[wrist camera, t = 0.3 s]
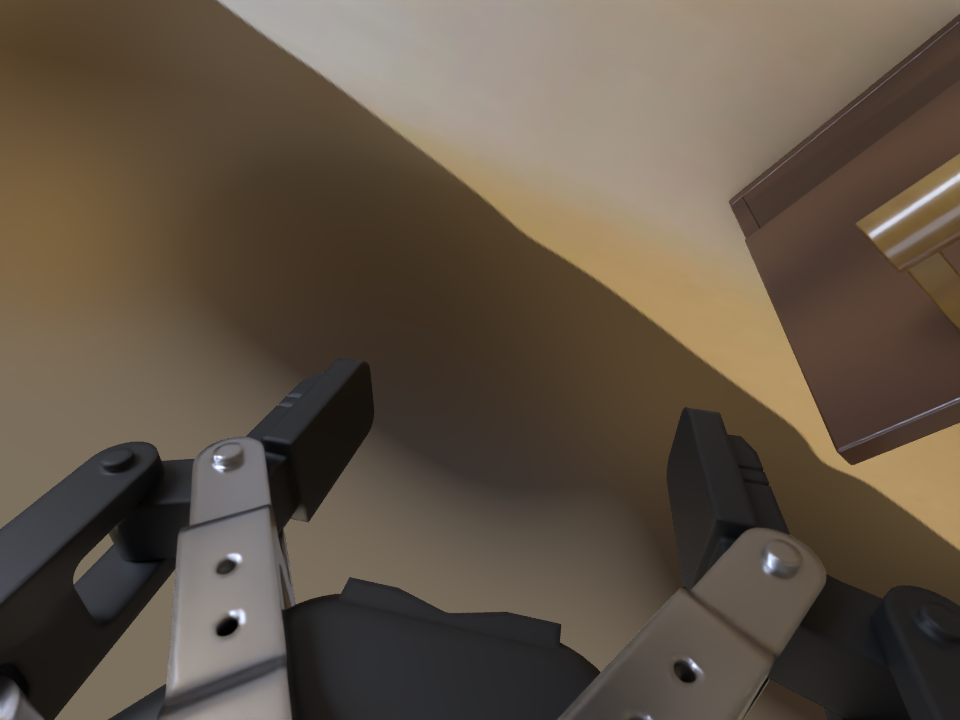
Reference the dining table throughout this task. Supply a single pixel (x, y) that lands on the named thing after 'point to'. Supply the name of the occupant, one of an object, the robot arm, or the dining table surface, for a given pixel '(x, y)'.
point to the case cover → (876, 285)
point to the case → (853, 129)
